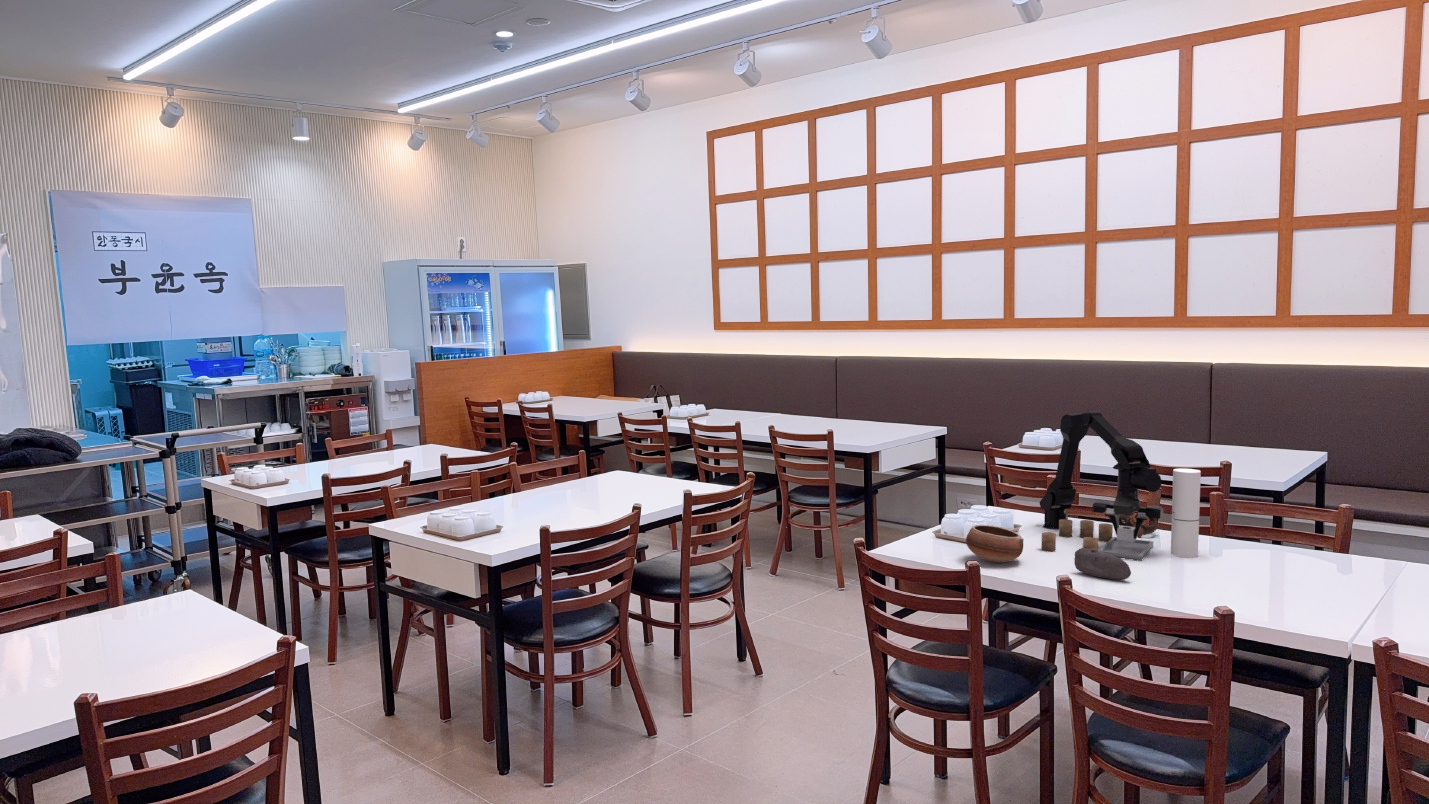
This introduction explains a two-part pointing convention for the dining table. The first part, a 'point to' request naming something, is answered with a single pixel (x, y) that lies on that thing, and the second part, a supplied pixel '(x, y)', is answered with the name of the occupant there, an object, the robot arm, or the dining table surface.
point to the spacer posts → (1085, 533)
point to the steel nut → (1126, 534)
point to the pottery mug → (1132, 523)
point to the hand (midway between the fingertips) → (1126, 537)
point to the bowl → (994, 543)
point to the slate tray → (1127, 549)
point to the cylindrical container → (1185, 512)
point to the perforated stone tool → (1101, 564)
